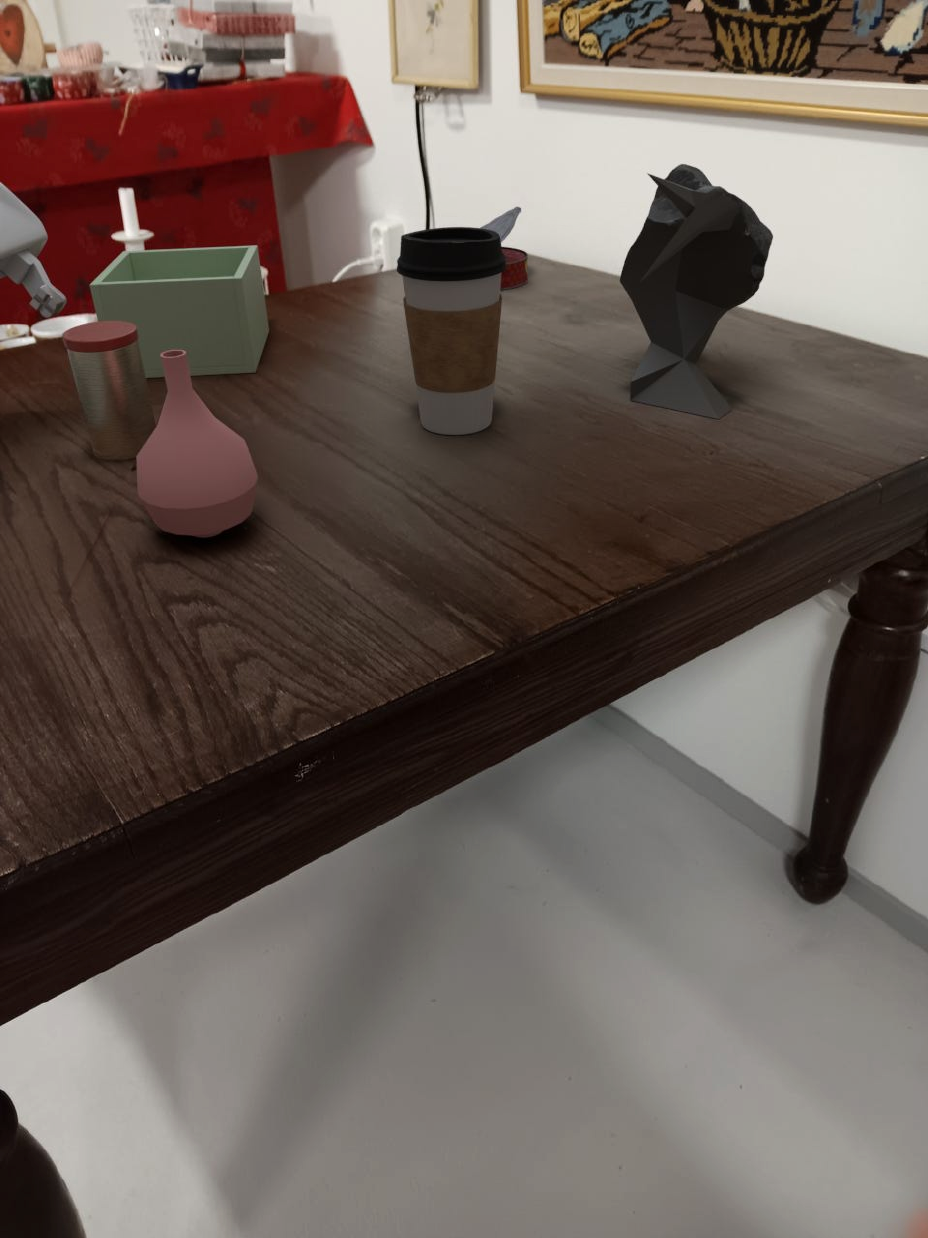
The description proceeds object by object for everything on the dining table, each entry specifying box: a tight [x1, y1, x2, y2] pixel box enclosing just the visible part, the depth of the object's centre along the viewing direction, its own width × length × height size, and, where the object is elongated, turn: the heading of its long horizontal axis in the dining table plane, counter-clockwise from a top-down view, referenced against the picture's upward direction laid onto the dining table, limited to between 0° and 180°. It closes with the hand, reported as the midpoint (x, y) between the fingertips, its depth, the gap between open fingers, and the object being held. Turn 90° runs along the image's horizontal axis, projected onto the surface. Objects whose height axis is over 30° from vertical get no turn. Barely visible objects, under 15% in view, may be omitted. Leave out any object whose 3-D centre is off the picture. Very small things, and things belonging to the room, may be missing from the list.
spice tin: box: [61, 321, 157, 471], centre depth 72 cm, size 5×5×10 cm
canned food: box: [480, 206, 529, 291], centre depth 117 cm, size 11×10×10 cm
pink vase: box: [135, 350, 259, 538], centre depth 61 cm, size 8×8×12 cm
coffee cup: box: [396, 226, 507, 436], centre depth 76 cm, size 8×8×15 cm
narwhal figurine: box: [619, 163, 774, 420], centre depth 82 cm, size 14×15×18 cm
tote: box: [89, 244, 270, 379], centre depth 94 cm, size 14×14×9 cm
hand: (24, 327), depth 70 cm, fingers open, 8 cm apart
